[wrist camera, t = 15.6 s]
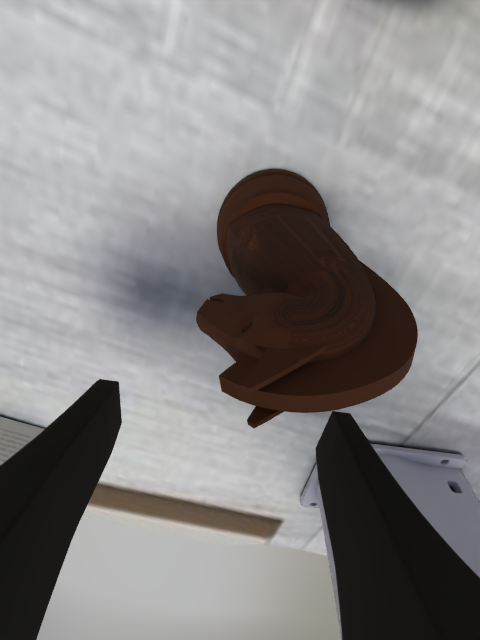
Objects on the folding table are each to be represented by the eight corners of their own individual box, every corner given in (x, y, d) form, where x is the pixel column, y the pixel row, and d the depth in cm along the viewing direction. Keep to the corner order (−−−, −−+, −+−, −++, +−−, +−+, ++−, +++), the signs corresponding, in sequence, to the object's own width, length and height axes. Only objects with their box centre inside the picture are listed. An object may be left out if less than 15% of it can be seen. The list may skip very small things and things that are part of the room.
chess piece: (210, 175, 13) (130, 301, 4) (340, 161, 12) (523, 270, 4) (225, 279, 15) (191, 485, 7) (334, 270, 15) (438, 479, 7)
